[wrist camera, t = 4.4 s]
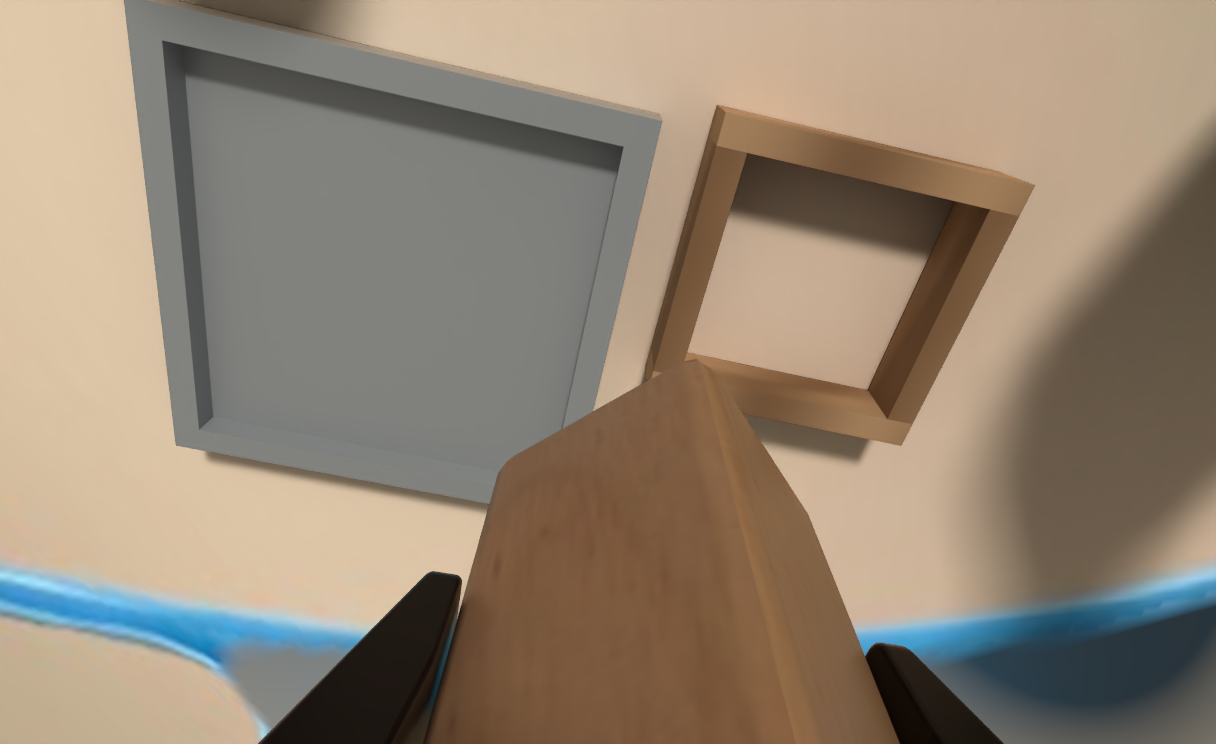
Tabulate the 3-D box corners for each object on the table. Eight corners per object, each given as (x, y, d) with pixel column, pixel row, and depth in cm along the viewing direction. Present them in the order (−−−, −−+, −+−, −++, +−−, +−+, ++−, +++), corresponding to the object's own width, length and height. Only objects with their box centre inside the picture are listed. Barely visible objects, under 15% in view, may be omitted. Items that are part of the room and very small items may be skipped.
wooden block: (492, 457, 11) (256, 1237, 4) (699, 339, 10) (909, 1116, 3) (620, 603, 12) (623, 1361, 5) (811, 514, 11) (1135, 1307, 4)
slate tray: (659, 114, 18) (662, 121, 16) (571, 489, 23) (567, 518, 22) (166, -2, 17) (123, -6, 15) (204, 419, 23) (175, 445, 21)
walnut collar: (998, 172, 18) (1034, 185, 16) (881, 415, 22) (901, 445, 20) (717, 104, 17) (725, 111, 16) (645, 366, 21) (646, 393, 19)
